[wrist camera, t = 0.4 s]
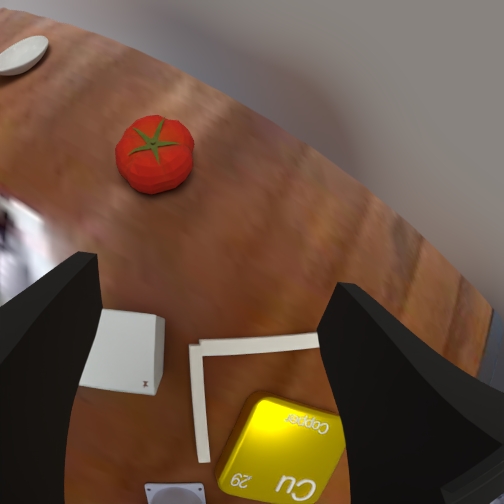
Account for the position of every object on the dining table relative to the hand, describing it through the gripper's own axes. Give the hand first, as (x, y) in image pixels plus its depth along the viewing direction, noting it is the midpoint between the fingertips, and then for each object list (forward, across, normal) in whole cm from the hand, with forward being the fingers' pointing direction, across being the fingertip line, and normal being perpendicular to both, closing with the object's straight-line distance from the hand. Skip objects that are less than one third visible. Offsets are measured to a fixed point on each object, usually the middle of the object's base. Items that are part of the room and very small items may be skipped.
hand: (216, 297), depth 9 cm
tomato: (+36, +8, +7) cm, 37 cm away
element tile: (+9, -13, +34) cm, 38 cm away
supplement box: (+18, +7, +24) cm, 31 cm away
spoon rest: (+48, +46, -6) cm, 67 cm away
